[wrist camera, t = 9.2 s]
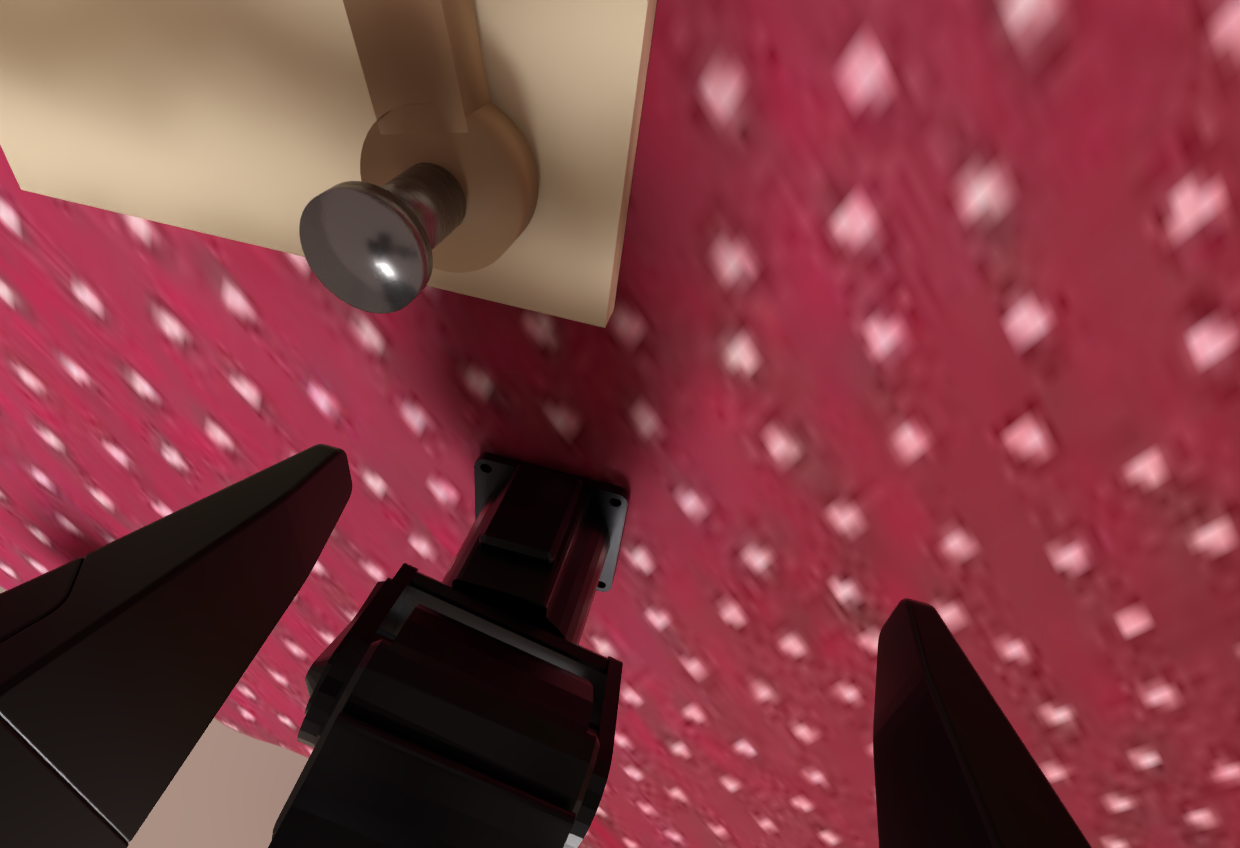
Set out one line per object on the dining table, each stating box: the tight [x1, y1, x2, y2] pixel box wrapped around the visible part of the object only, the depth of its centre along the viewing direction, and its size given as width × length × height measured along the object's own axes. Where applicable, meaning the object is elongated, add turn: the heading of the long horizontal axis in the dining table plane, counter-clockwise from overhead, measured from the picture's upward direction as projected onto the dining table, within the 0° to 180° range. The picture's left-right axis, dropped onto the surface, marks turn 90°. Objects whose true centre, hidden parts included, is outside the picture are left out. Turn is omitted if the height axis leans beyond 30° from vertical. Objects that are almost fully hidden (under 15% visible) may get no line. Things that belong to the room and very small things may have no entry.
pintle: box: [299, 162, 466, 313], centre depth 16 cm, size 3×3×4 cm
